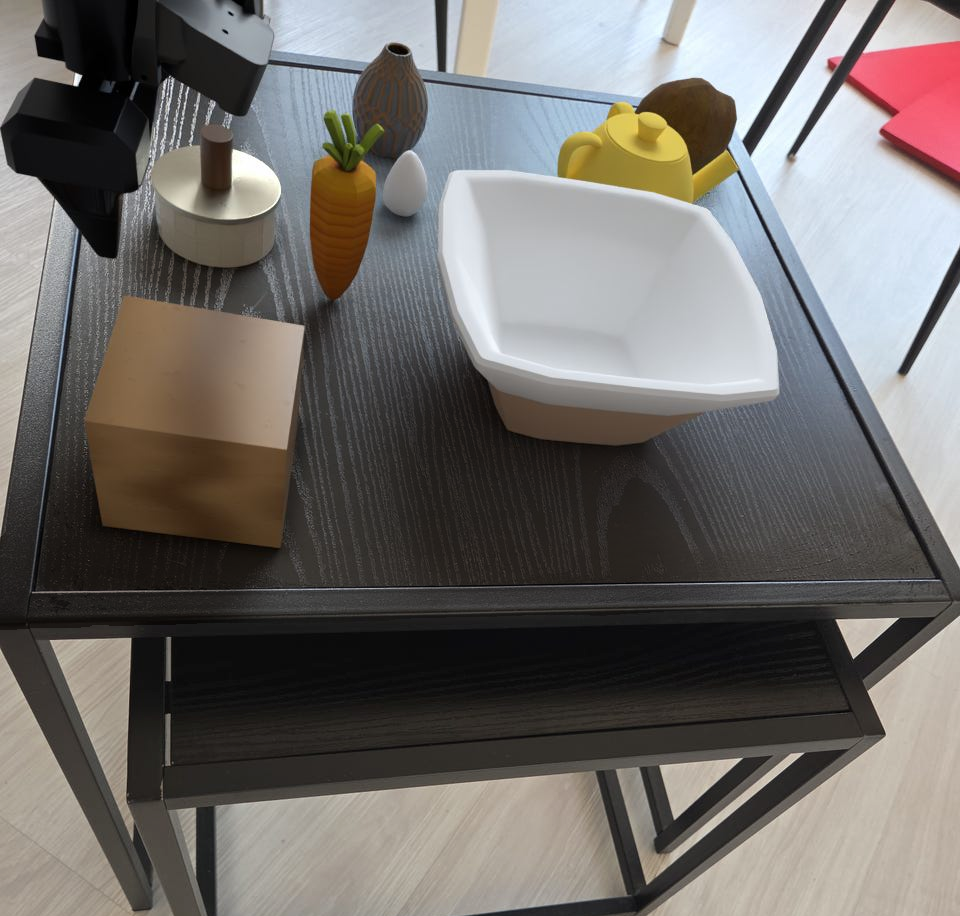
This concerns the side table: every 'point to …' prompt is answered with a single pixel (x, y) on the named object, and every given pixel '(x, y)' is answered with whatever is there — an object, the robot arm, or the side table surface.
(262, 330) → the stand
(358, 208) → the carrot
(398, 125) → the vase
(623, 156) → the teapot
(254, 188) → the lid
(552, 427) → the bowl
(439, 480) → the side table surface
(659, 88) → the potato
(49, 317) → the side table surface
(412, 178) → the egg
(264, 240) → the pot
